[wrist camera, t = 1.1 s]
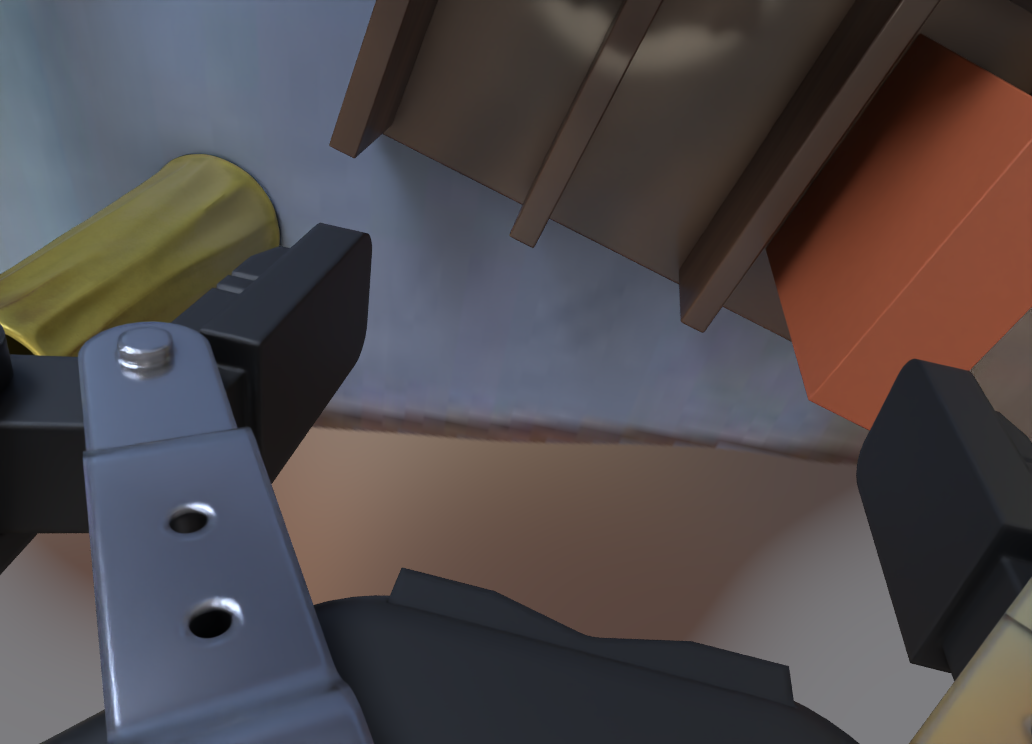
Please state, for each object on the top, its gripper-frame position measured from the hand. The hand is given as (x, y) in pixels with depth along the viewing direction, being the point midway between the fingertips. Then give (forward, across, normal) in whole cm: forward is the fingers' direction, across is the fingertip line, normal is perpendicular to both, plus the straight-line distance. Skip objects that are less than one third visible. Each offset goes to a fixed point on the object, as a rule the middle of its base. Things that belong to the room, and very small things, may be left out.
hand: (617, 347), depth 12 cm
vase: (+21, +18, +10) cm, 29 cm away
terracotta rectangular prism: (+20, -8, +2) cm, 22 cm away
